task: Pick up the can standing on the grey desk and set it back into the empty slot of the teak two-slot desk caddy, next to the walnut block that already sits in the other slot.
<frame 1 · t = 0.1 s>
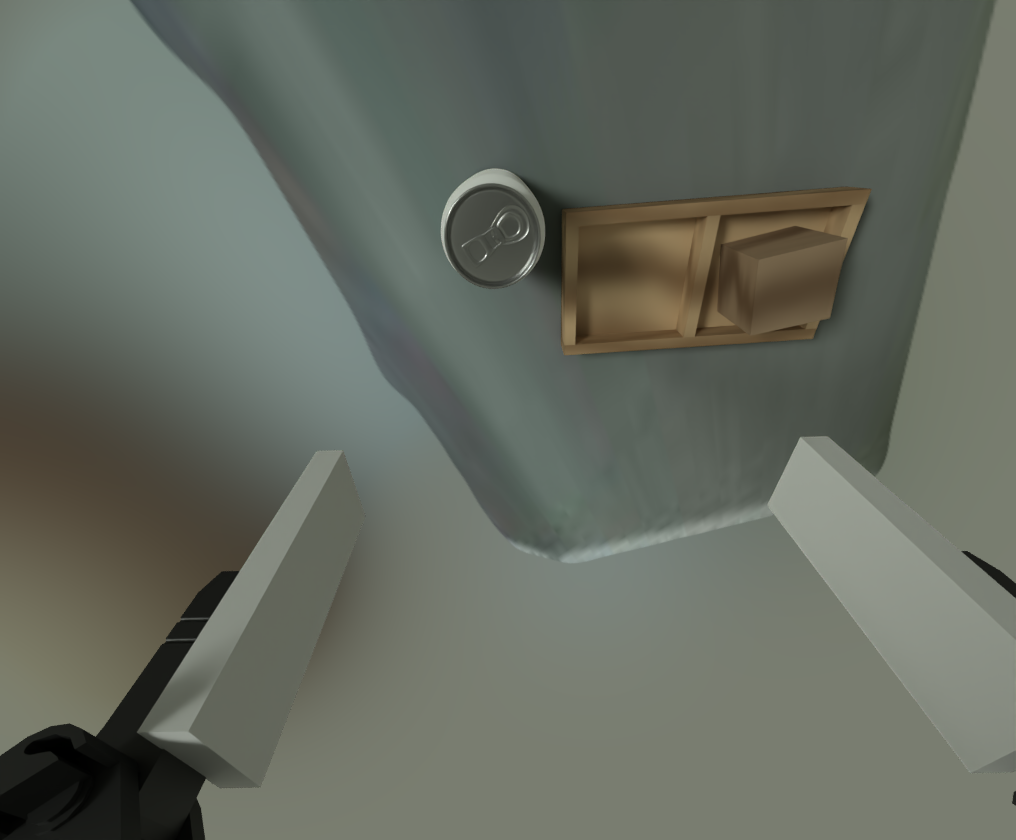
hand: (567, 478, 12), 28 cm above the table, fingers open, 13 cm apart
can: (496, 213, 33), on the table
caddy: (688, 273, 35), on the table
walnut block: (753, 270, 35), point 1 cm above the table, touching caddy
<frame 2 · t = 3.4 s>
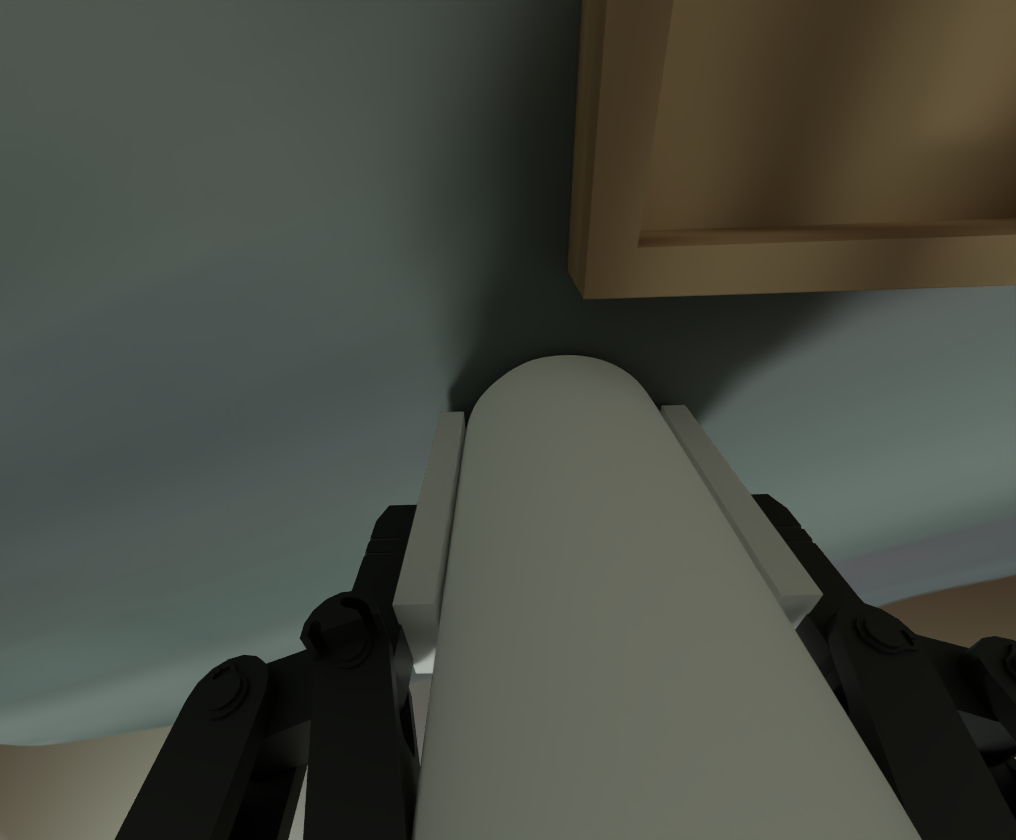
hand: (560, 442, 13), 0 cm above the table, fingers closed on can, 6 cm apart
can: (558, 431, 14), on the table, touching gripper
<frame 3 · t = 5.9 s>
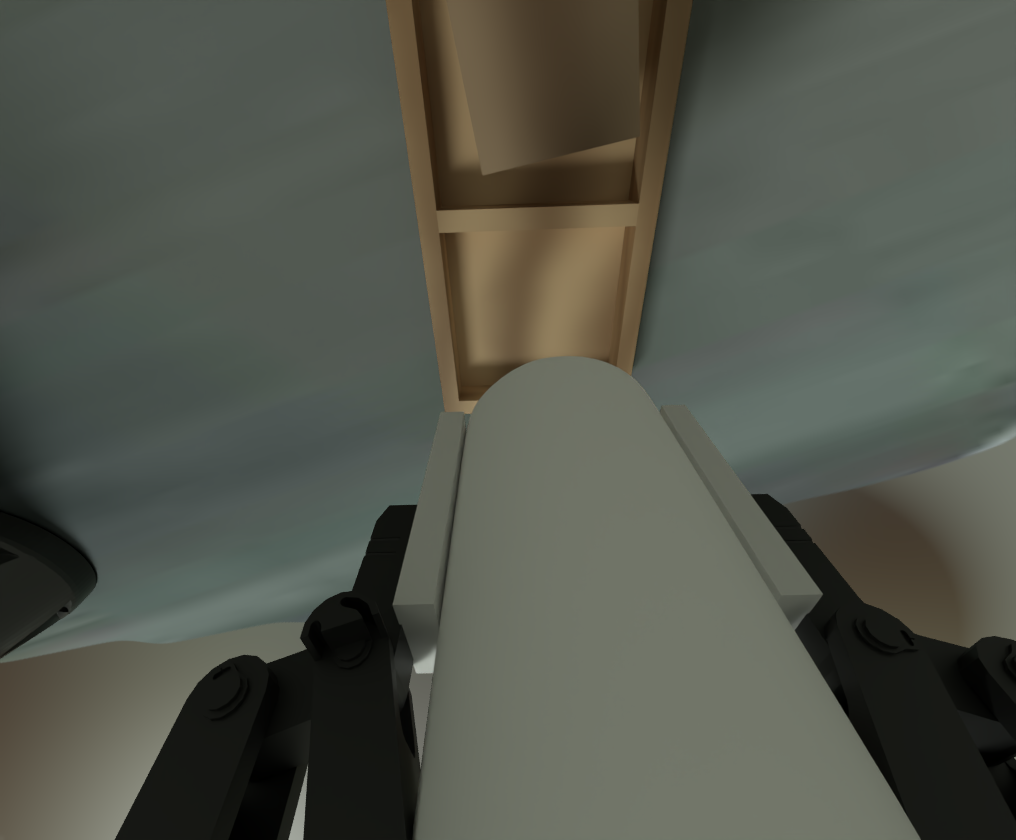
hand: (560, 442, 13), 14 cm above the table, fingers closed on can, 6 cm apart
can: (558, 431, 14), point 13 cm above the table, touching gripper
caddy: (534, 212, 22), on the table
walnut block: (535, 80, 18), point 1 cm above the table, touching caddy
when the fingers open (3 cm above the table, at t = 8.4 s): can drops 2 cm, resting on caddy.
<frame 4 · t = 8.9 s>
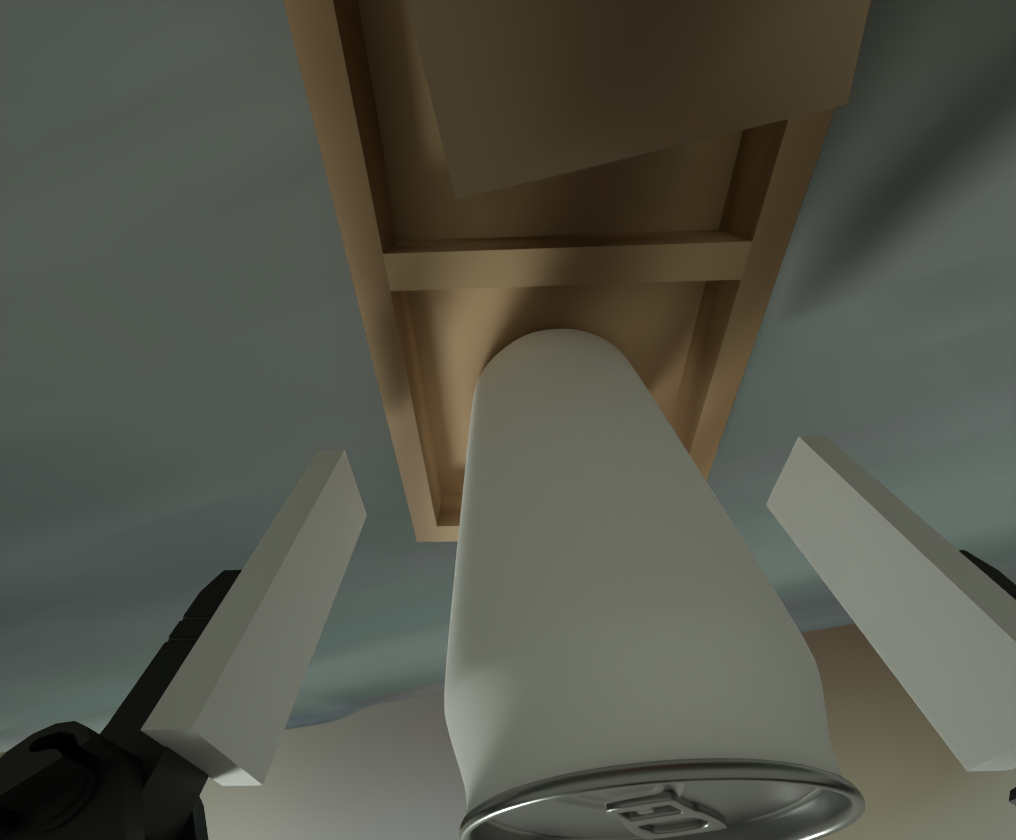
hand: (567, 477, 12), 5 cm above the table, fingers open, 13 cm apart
can: (553, 398, 16), resting on caddy
caddy: (555, 248, 13), on the table
walnut block: (566, 9, 9), point 1 cm above the table, touching caddy
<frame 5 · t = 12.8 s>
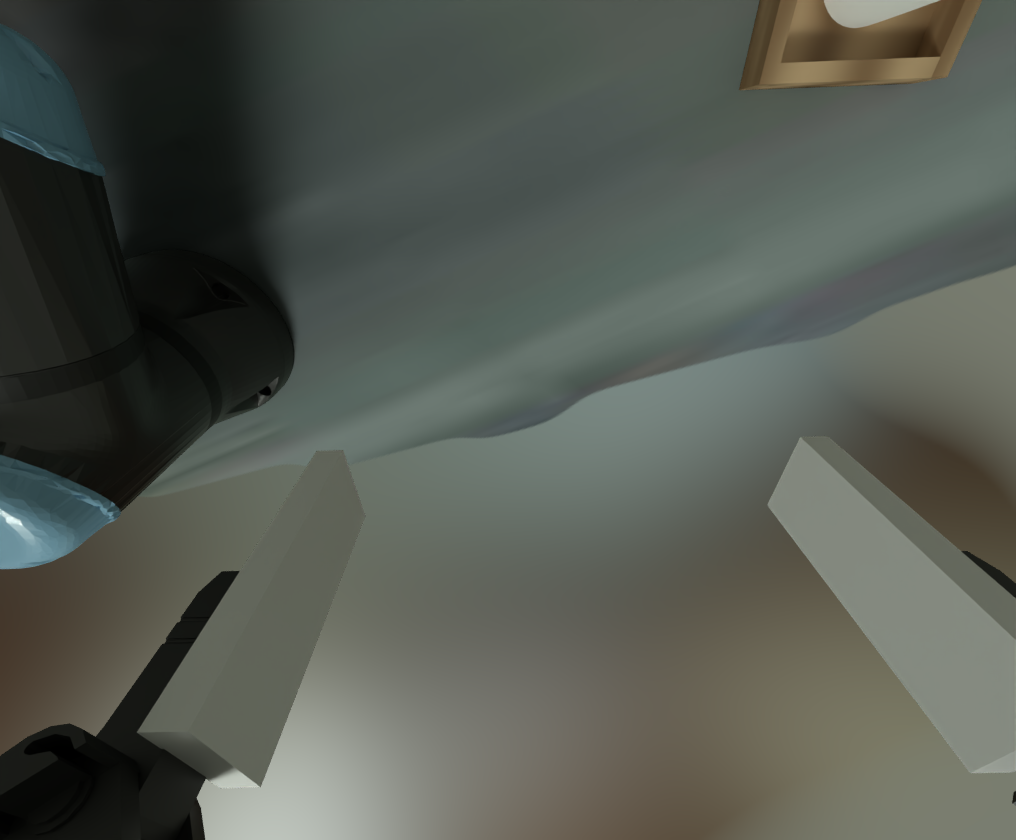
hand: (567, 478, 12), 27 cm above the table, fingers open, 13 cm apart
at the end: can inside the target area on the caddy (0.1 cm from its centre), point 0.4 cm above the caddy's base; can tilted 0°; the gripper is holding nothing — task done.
